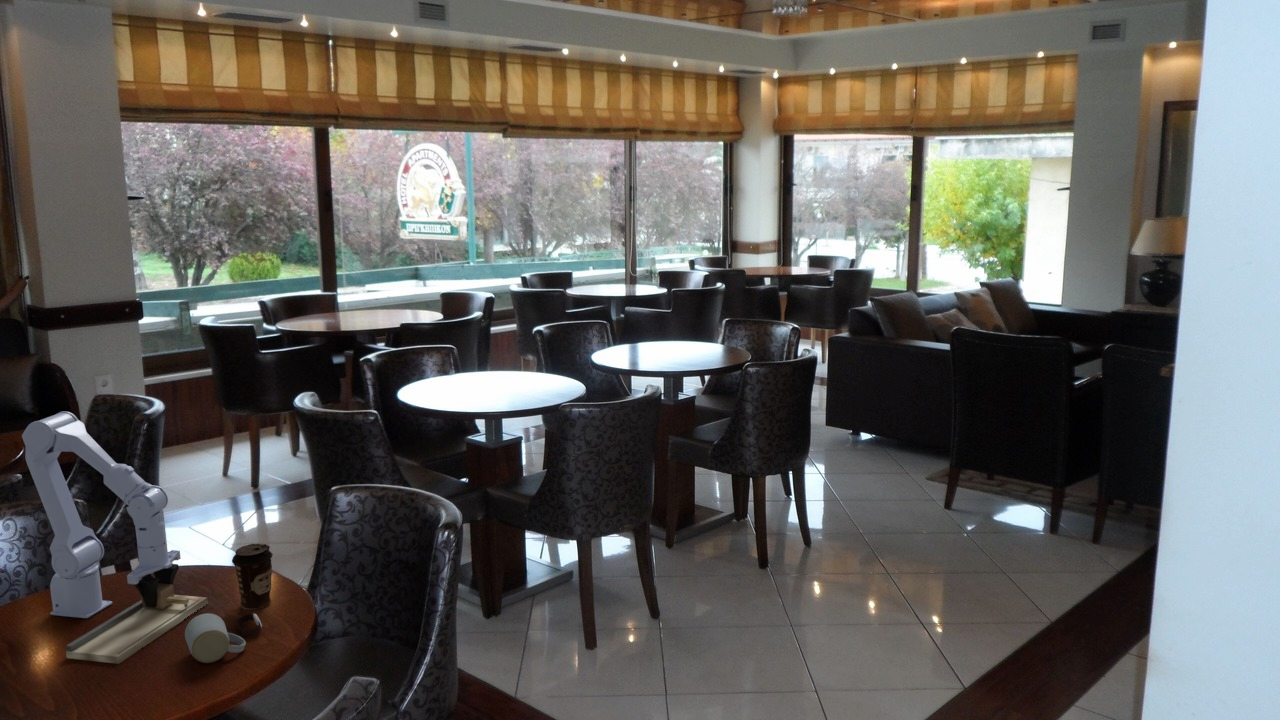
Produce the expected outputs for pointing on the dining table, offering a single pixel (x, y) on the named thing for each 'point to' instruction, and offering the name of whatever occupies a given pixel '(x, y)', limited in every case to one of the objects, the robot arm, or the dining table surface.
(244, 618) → the watch
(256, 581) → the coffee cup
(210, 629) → the ceramic mug
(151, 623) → the cream flat tray
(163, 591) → the marking gauge
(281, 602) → the dining table surface
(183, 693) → the dining table surface
